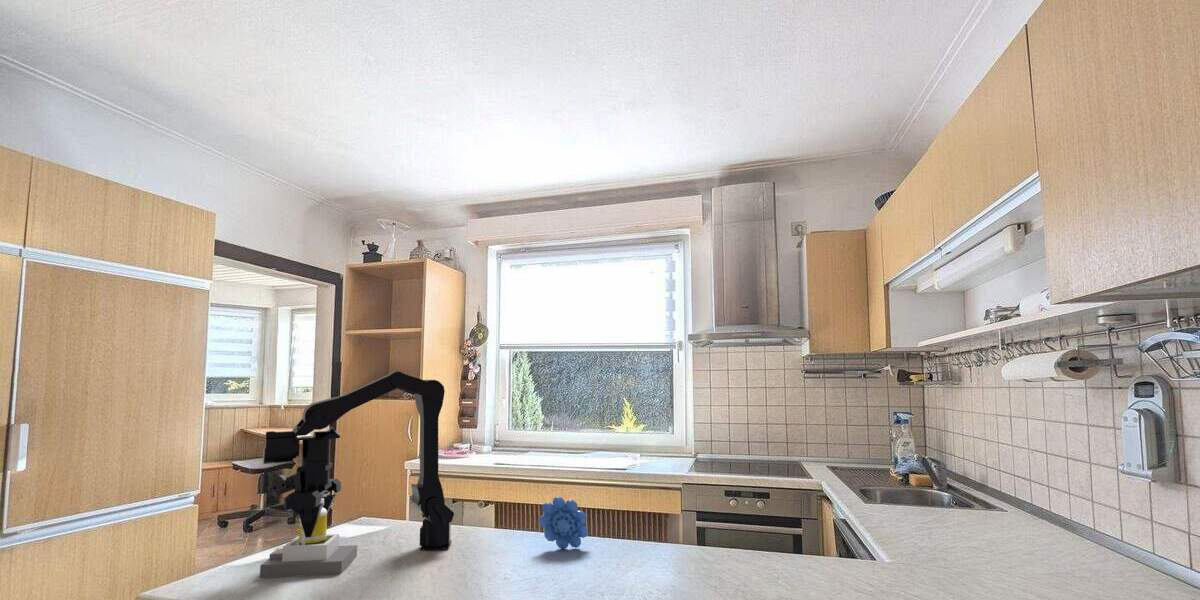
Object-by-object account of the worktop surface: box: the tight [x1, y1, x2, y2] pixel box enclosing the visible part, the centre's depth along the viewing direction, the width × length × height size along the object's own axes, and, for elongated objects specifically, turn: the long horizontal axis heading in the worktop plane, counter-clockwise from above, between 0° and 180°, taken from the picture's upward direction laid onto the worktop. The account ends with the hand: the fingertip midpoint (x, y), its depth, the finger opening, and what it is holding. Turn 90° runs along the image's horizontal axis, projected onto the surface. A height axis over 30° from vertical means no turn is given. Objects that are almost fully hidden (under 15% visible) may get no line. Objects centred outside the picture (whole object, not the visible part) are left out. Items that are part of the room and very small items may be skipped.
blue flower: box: [538, 495, 589, 550], centre depth 141 cm, size 12×7×12 cm, turn 92°
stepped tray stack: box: [259, 533, 358, 579], centre depth 131 cm, size 16×12×6 cm
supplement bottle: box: [298, 498, 328, 545], centre depth 131 cm, size 5×5×10 cm
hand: (312, 533), depth 131 cm, fingers closed on supplement bottle, 5 cm apart
